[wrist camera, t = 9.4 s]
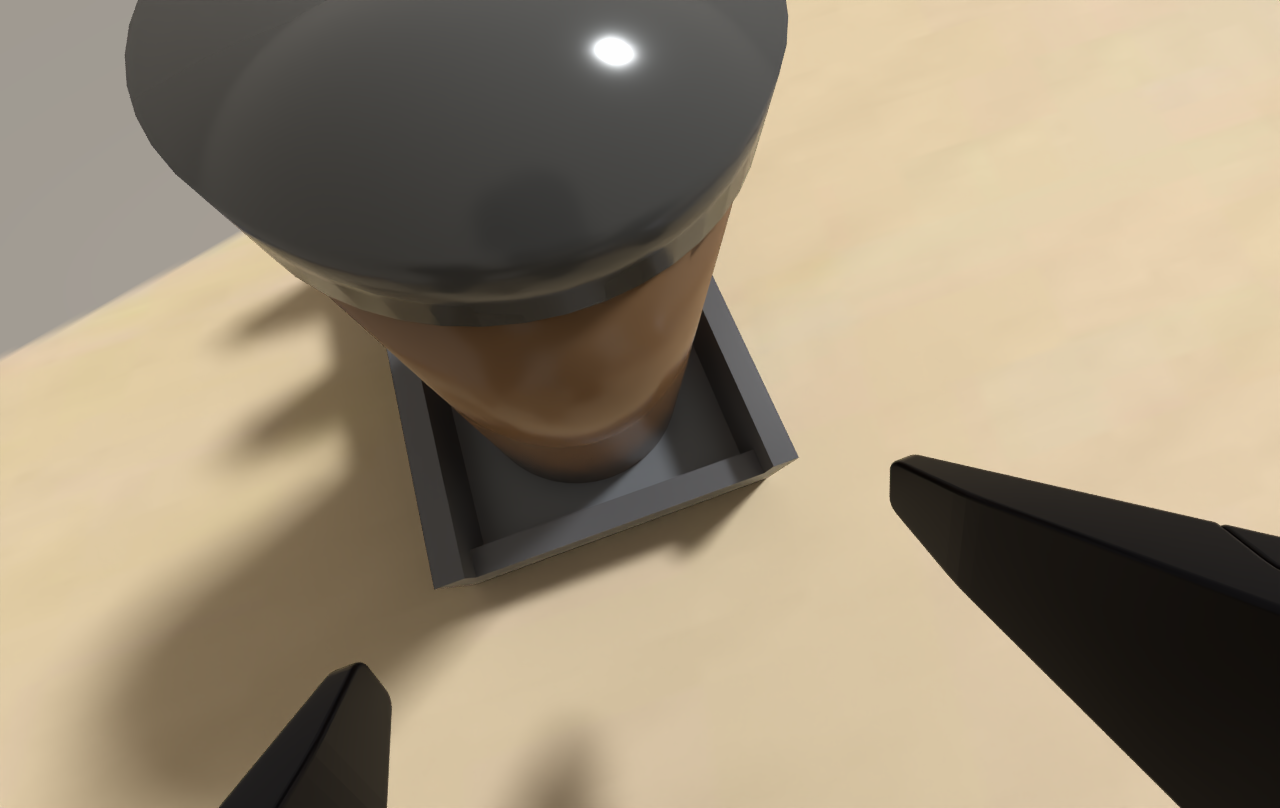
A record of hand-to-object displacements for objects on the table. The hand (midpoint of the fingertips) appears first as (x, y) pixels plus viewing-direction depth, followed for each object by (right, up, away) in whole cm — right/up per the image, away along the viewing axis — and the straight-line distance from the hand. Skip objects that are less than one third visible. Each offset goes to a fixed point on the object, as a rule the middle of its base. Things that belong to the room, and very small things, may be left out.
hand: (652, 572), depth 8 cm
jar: (-2, +3, +9) cm, 10 cm away
